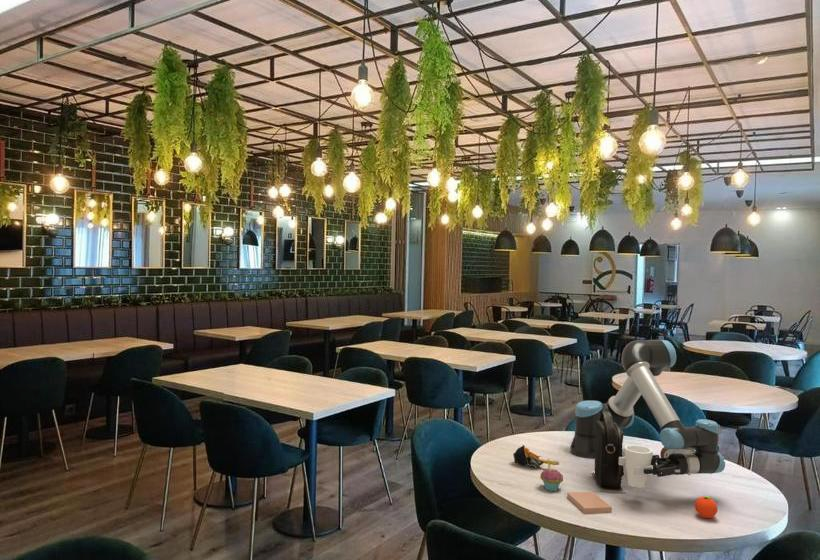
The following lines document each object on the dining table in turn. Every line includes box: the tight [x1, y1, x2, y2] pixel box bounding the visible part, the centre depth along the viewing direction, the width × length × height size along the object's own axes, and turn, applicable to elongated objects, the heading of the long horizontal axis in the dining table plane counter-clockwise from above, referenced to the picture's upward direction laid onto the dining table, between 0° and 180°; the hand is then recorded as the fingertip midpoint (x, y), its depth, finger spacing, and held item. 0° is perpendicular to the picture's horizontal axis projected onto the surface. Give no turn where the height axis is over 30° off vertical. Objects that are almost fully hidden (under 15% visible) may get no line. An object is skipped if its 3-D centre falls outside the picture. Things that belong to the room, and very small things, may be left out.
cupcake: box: [539, 458, 564, 492], centre depth 219 cm, size 9×8×12 cm
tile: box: [566, 491, 613, 515], centre depth 205 cm, size 2×14×10 cm
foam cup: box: [623, 444, 654, 489], centre depth 208 cm, size 10×9×13 cm
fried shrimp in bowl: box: [513, 444, 560, 469], centre depth 243 cm, size 9×11×18 cm
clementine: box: [694, 495, 718, 519], centre depth 197 cm, size 8×7×7 cm
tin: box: [659, 446, 695, 458], centre depth 249 cm, size 15×3×8 cm, turn 84°
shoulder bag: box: [590, 411, 625, 494], centre depth 227 cm, size 23×9×28 cm, turn 172°
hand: (626, 465), depth 207 cm, fingers closed on foam cup, 9 cm apart
